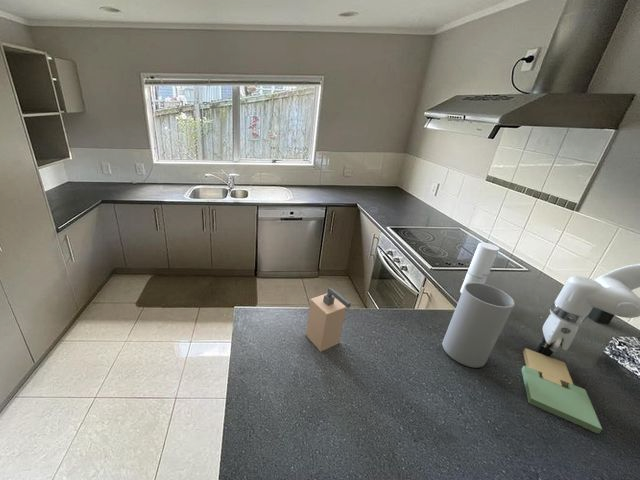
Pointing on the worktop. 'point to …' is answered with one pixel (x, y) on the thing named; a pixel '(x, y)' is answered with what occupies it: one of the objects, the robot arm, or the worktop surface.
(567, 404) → the big pad
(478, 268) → the cylindrical container
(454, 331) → the cylinder vase
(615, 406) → the worktop surface
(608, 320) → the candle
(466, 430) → the worktop surface
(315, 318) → the soap dispenser
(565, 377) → the small pad
